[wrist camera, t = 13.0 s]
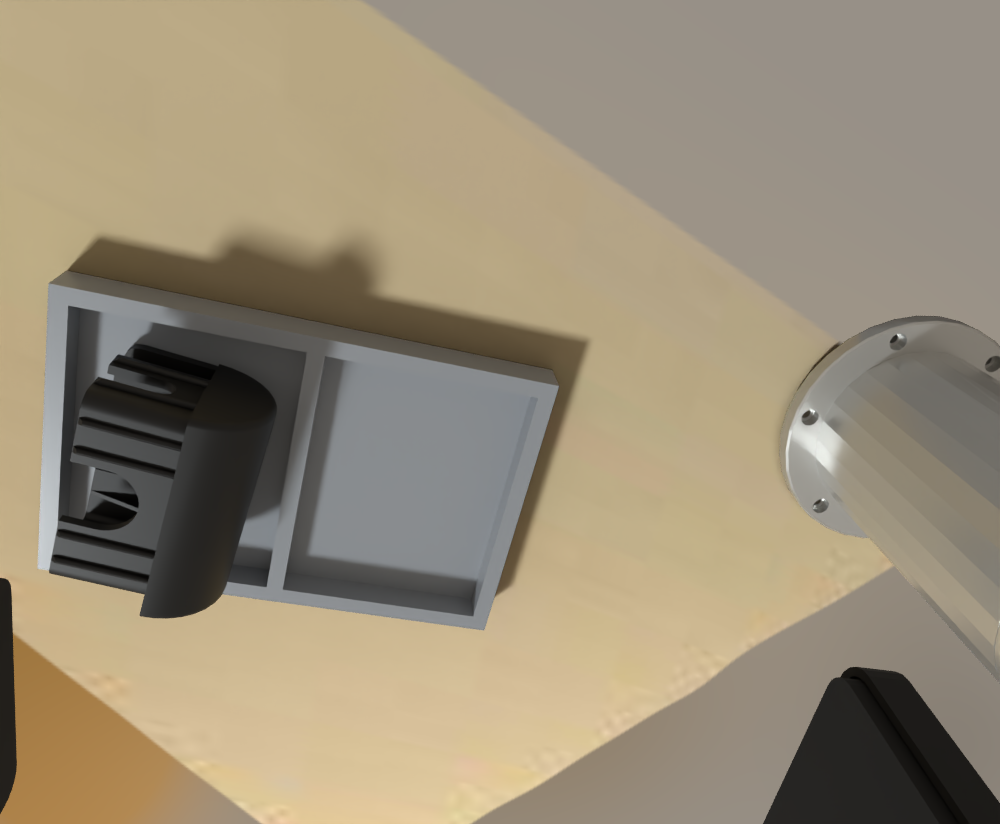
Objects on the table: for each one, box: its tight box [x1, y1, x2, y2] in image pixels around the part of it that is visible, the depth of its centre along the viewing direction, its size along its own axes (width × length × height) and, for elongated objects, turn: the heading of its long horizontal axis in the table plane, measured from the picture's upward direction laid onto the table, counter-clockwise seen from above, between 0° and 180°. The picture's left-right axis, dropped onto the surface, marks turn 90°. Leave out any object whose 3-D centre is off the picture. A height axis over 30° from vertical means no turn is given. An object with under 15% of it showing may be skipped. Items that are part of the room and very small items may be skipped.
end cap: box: [49, 344, 277, 618], centre depth 37 cm, size 10×7×7 cm
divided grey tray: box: [38, 271, 559, 630], centre depth 40 cm, size 22×15×2 cm, turn 76°
